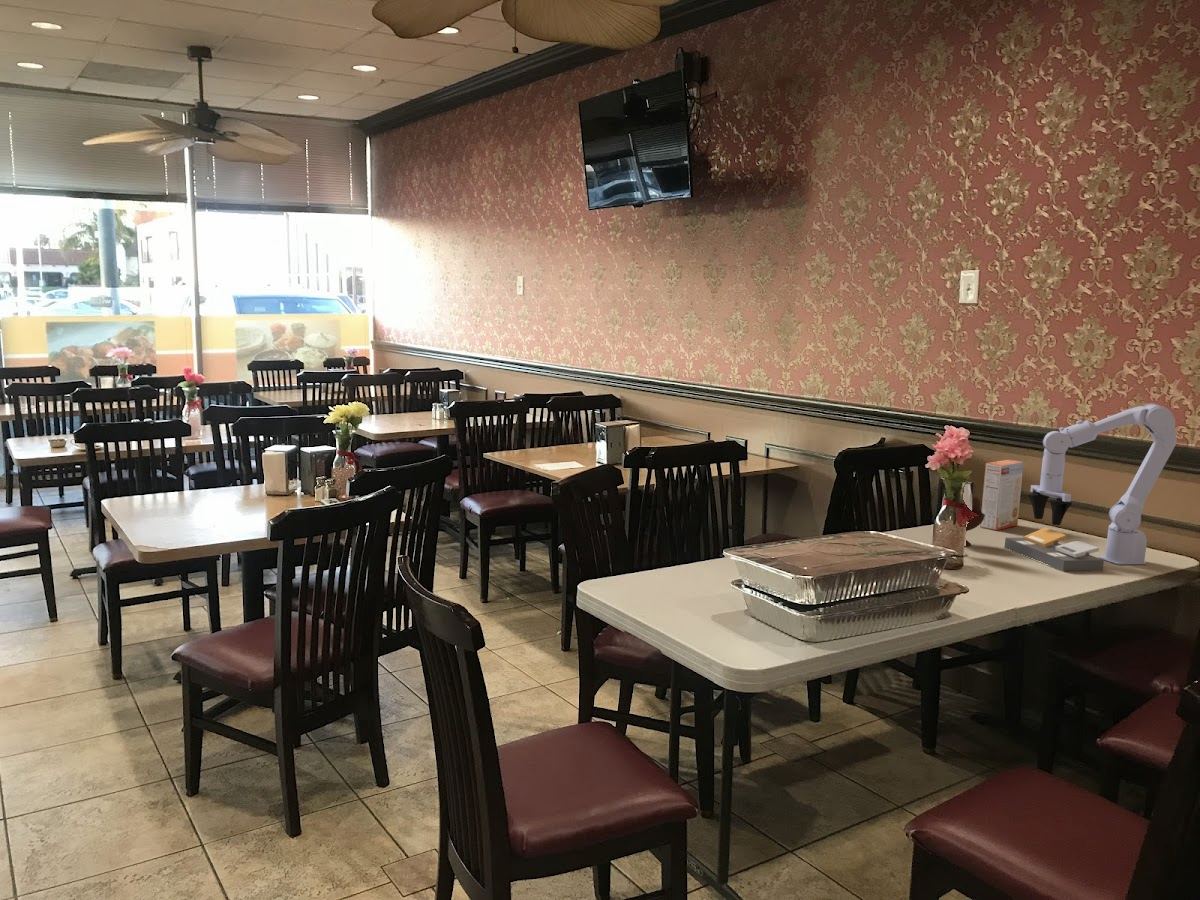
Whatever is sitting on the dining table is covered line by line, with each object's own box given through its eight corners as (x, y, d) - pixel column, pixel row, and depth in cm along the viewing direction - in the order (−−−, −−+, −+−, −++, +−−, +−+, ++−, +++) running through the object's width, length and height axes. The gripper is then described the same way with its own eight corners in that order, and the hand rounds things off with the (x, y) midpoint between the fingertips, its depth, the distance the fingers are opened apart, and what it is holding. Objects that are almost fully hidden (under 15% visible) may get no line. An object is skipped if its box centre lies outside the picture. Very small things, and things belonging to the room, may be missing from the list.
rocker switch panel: (1053, 547, 277) (1054, 536, 277) (1115, 570, 253) (1117, 559, 252) (1004, 547, 274) (1005, 536, 273) (1062, 571, 250) (1064, 559, 249)
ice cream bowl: (974, 540, 281) (979, 490, 279) (985, 550, 270) (991, 498, 268) (937, 538, 282) (942, 488, 280) (947, 547, 271) (952, 495, 269)
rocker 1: (1046, 532, 273) (1044, 527, 273) (1067, 540, 265) (1066, 534, 264) (1025, 541, 272) (1023, 536, 272) (1045, 549, 264) (1044, 543, 263)
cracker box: (1000, 522, 309) (1006, 458, 306) (1018, 526, 305) (1025, 461, 302) (978, 527, 300) (985, 461, 297) (996, 531, 296) (1003, 464, 293)
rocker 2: (1078, 545, 260) (1077, 540, 260) (1099, 553, 253) (1098, 547, 252) (1055, 552, 259) (1055, 546, 259) (1075, 559, 252) (1075, 553, 251)
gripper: (1023, 469, 273) (1018, 516, 275) (1057, 478, 259) (1051, 527, 261) (1044, 470, 274) (1039, 516, 276) (1079, 478, 260) (1074, 527, 262)
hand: (1047, 521), depth 268 cm, fingers open, 7 cm apart
